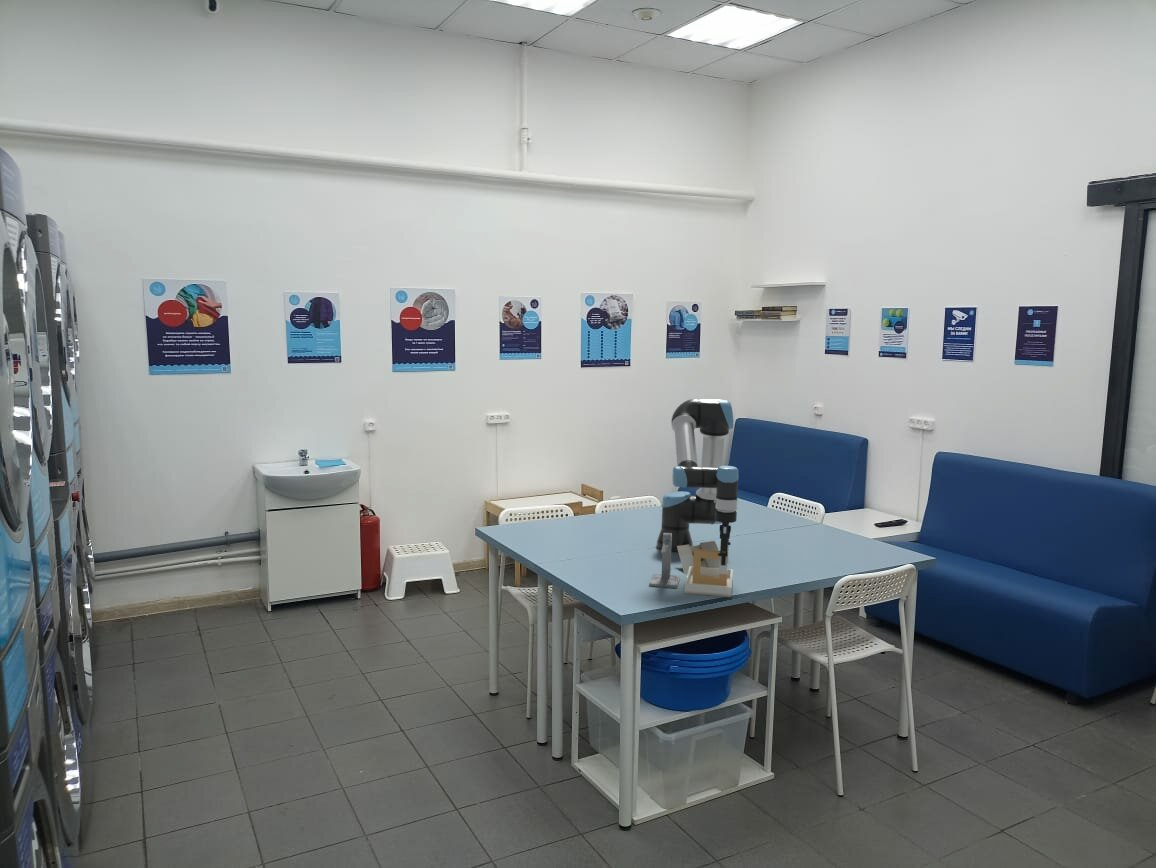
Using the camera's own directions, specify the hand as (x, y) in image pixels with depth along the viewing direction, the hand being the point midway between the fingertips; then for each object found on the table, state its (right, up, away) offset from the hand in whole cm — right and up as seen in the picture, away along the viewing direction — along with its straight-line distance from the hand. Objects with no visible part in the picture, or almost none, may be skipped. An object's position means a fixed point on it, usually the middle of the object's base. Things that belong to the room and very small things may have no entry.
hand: (723, 568), depth 290 cm
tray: (-5, -7, +2) cm, 8 cm away
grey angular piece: (-5, -4, +23) cm, 24 cm away
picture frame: (-5, -6, +2) cm, 8 cm away
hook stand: (-21, -6, +3) cm, 22 cm away
